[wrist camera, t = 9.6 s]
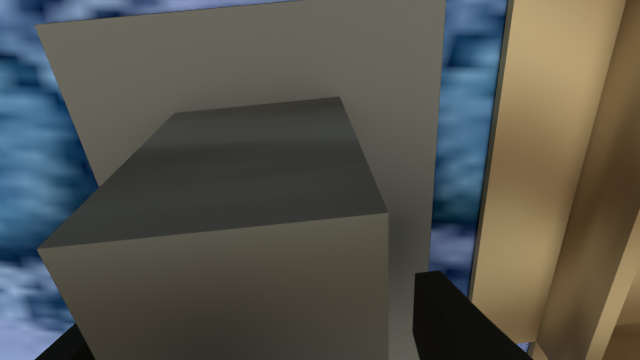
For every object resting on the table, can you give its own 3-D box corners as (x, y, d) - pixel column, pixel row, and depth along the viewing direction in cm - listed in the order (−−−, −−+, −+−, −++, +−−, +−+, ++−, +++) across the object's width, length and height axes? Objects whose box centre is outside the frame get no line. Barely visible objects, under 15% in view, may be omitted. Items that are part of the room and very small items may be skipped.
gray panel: (417, 354, 16) (421, 366, 15) (184, 378, 16) (180, 392, 15) (438, -13, 10) (447, -13, 9) (48, 23, 9) (34, 25, 9)
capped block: (354, 329, 14) (388, 532, 9) (236, 342, 14) (200, 554, 9) (339, 96, 10) (388, 213, 5) (174, 112, 10) (36, 249, 5)
